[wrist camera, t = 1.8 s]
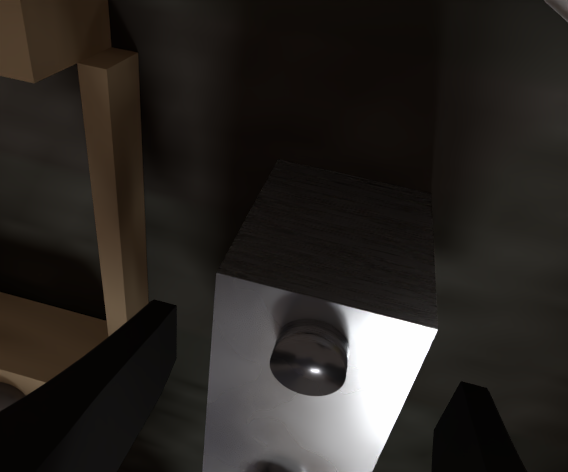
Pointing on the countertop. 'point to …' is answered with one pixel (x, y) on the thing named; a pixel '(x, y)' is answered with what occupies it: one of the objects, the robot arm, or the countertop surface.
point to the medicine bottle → (559, 7)
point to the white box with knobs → (319, 323)
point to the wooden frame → (104, 182)
